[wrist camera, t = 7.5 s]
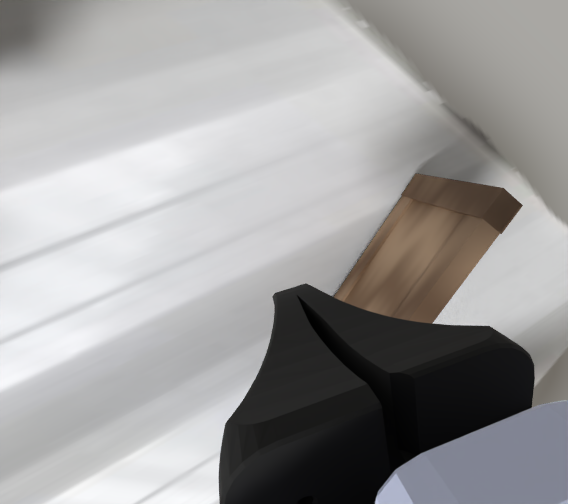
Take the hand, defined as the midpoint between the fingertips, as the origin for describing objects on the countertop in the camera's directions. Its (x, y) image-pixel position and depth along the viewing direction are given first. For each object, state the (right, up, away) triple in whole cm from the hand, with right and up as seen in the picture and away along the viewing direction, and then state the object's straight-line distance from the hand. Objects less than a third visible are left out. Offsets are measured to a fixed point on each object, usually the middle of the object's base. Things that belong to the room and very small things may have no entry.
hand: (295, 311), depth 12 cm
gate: (+5, +1, +10) cm, 11 cm away
